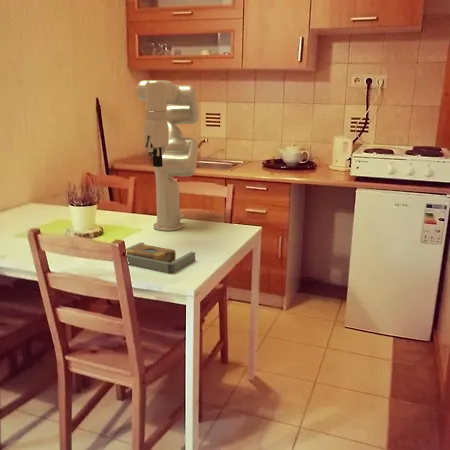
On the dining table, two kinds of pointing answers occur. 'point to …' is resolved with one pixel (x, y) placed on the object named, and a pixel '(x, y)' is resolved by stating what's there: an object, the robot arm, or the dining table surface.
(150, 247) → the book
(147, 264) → the tray
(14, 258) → the dining table surface
